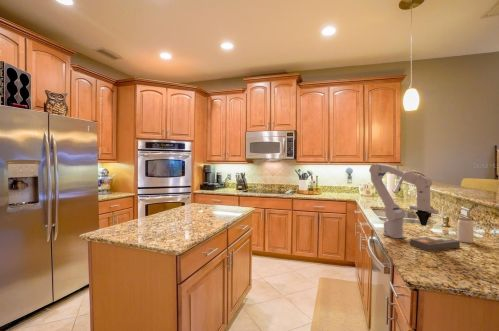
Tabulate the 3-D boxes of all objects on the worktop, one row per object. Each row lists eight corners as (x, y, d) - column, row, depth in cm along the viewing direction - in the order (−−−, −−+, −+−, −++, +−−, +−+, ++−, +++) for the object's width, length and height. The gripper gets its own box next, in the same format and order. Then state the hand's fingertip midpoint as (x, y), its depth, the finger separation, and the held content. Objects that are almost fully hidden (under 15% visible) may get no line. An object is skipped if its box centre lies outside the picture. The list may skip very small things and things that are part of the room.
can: (476, 243, 128) (476, 220, 128) (462, 243, 129) (462, 220, 129) (468, 240, 134) (468, 218, 134) (454, 239, 135) (454, 217, 135)
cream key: (426, 240, 126) (426, 237, 126) (433, 239, 127) (433, 236, 127) (435, 243, 122) (435, 239, 122) (442, 242, 123) (442, 238, 123)
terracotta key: (417, 243, 125) (417, 240, 125) (423, 242, 126) (423, 239, 126) (425, 246, 120) (425, 242, 120) (432, 245, 122) (432, 241, 122)
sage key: (436, 241, 128) (436, 237, 128) (442, 240, 129) (442, 237, 129) (445, 243, 124) (445, 240, 124) (451, 243, 125) (451, 239, 125)
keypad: (410, 244, 127) (410, 238, 127) (439, 241, 132) (439, 235, 132) (428, 251, 117) (428, 244, 117) (459, 247, 123) (459, 241, 123)
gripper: (443, 201, 123) (443, 228, 123) (416, 197, 137) (416, 221, 137) (432, 201, 122) (432, 229, 122) (406, 198, 136) (406, 222, 136)
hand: (423, 225), depth 129 cm, fingers closed
